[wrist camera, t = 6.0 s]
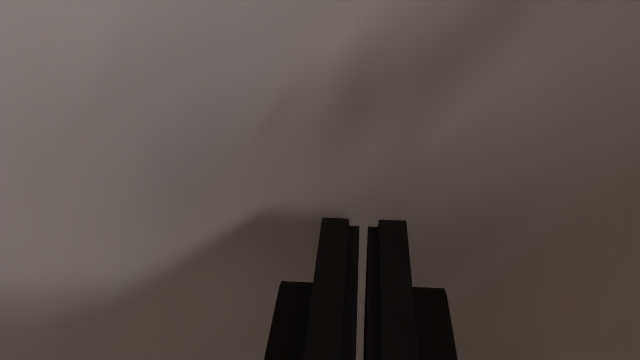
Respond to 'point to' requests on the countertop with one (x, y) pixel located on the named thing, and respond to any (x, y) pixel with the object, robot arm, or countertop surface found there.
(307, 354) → the robot arm
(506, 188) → the countertop surface
